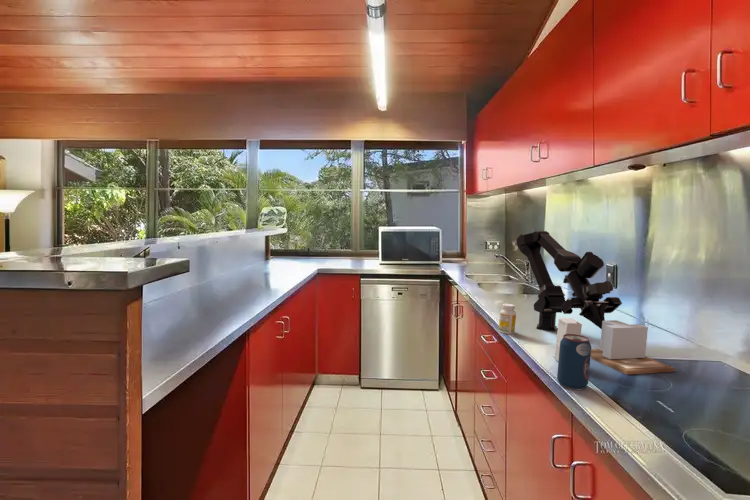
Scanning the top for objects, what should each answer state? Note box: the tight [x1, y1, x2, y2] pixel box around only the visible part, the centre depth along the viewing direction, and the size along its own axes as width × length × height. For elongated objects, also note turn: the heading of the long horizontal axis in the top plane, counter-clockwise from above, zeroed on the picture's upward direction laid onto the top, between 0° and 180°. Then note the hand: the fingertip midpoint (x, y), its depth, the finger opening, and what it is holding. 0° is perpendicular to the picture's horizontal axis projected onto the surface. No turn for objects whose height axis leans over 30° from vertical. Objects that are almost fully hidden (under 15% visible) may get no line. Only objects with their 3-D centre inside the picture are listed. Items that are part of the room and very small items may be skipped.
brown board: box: [590, 348, 675, 375], centre depth 129 cm, size 18×16×1 cm
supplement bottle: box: [498, 303, 517, 335], centre depth 156 cm, size 5×5×10 cm
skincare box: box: [554, 317, 583, 362], centre depth 126 cm, size 6×4×12 cm
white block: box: [599, 319, 649, 359], centre depth 132 cm, size 8×12×9 cm, turn 105°
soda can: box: [556, 334, 592, 390], centre depth 109 cm, size 7×7×12 cm
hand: (603, 328), depth 137 cm, fingers closed
